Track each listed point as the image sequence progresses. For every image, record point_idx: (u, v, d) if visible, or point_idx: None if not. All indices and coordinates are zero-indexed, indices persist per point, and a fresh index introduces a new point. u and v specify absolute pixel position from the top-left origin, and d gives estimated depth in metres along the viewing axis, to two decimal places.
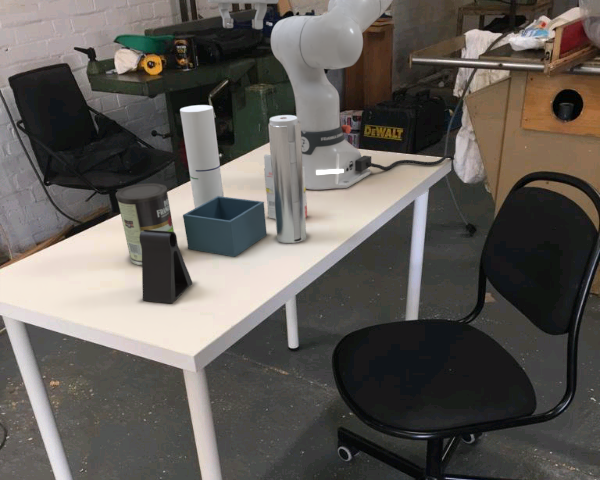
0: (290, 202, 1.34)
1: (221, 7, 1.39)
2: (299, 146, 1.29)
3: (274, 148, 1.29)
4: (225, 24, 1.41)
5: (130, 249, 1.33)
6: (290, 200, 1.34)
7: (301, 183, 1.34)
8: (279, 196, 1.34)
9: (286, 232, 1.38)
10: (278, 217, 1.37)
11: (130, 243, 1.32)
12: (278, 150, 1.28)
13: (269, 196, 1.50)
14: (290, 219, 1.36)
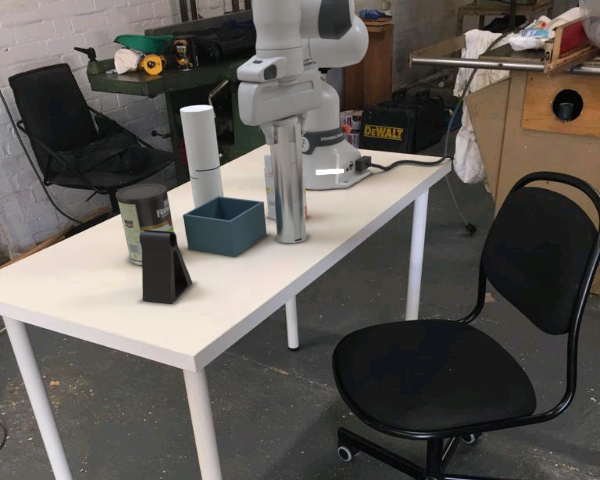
0: (290, 202, 1.34)
1: (271, 125, 1.25)
2: (299, 146, 1.29)
3: (274, 148, 1.29)
4: (274, 141, 1.27)
5: (130, 249, 1.33)
6: (290, 200, 1.34)
7: (301, 183, 1.34)
8: (279, 196, 1.34)
9: (286, 232, 1.38)
10: (278, 217, 1.37)
11: (130, 243, 1.32)
12: (278, 150, 1.28)
13: (269, 196, 1.50)
14: (290, 219, 1.36)
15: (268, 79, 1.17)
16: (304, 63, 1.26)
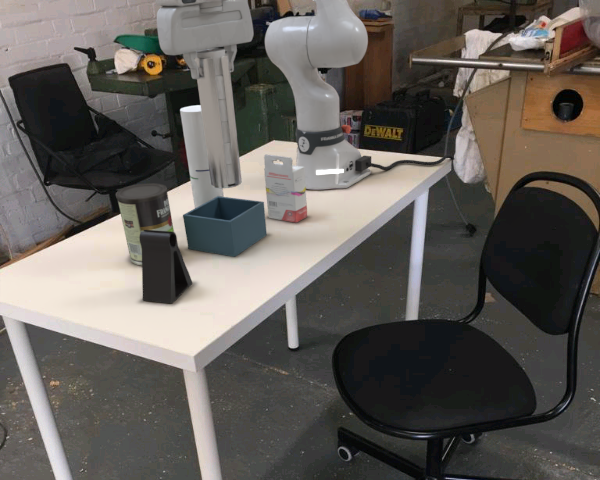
0: (221, 142, 1.27)
1: (194, 56, 1.18)
2: (228, 81, 1.22)
3: (201, 83, 1.22)
4: (199, 74, 1.20)
5: (130, 249, 1.33)
6: (221, 140, 1.27)
7: (232, 122, 1.26)
8: (209, 136, 1.27)
9: (219, 176, 1.31)
10: (210, 160, 1.30)
11: (130, 243, 1.32)
12: (205, 85, 1.21)
13: (269, 196, 1.50)
14: (222, 161, 1.29)
15: (187, 3, 1.10)
16: None
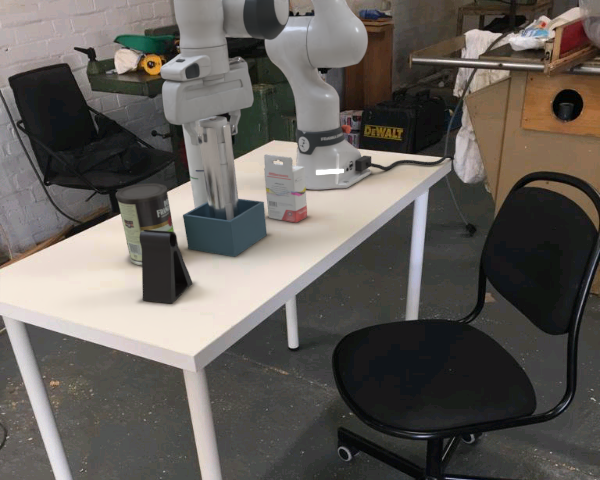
0: (223, 203, 1.34)
1: (194, 125, 1.24)
2: (229, 147, 1.29)
3: (204, 149, 1.29)
4: (199, 141, 1.26)
5: (130, 249, 1.33)
6: (223, 201, 1.34)
7: (233, 184, 1.34)
8: (212, 197, 1.34)
9: None
10: None
11: (130, 243, 1.32)
12: (208, 151, 1.28)
13: (269, 196, 1.50)
14: None
15: (190, 78, 1.17)
16: (232, 62, 1.25)
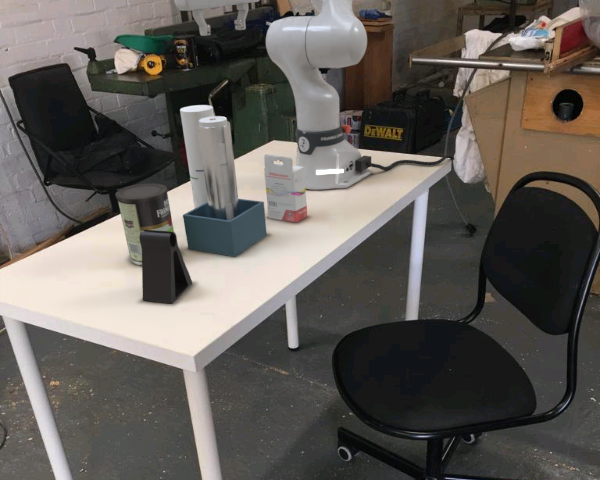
0: (223, 203, 1.34)
1: (203, 13, 1.25)
2: (229, 147, 1.29)
3: (204, 149, 1.29)
4: (207, 31, 1.28)
5: (130, 249, 1.33)
6: (223, 201, 1.34)
7: (233, 184, 1.34)
8: (212, 197, 1.34)
9: None
10: None
11: (130, 243, 1.32)
12: (208, 151, 1.28)
13: (269, 196, 1.50)
14: None
15: None
16: None
